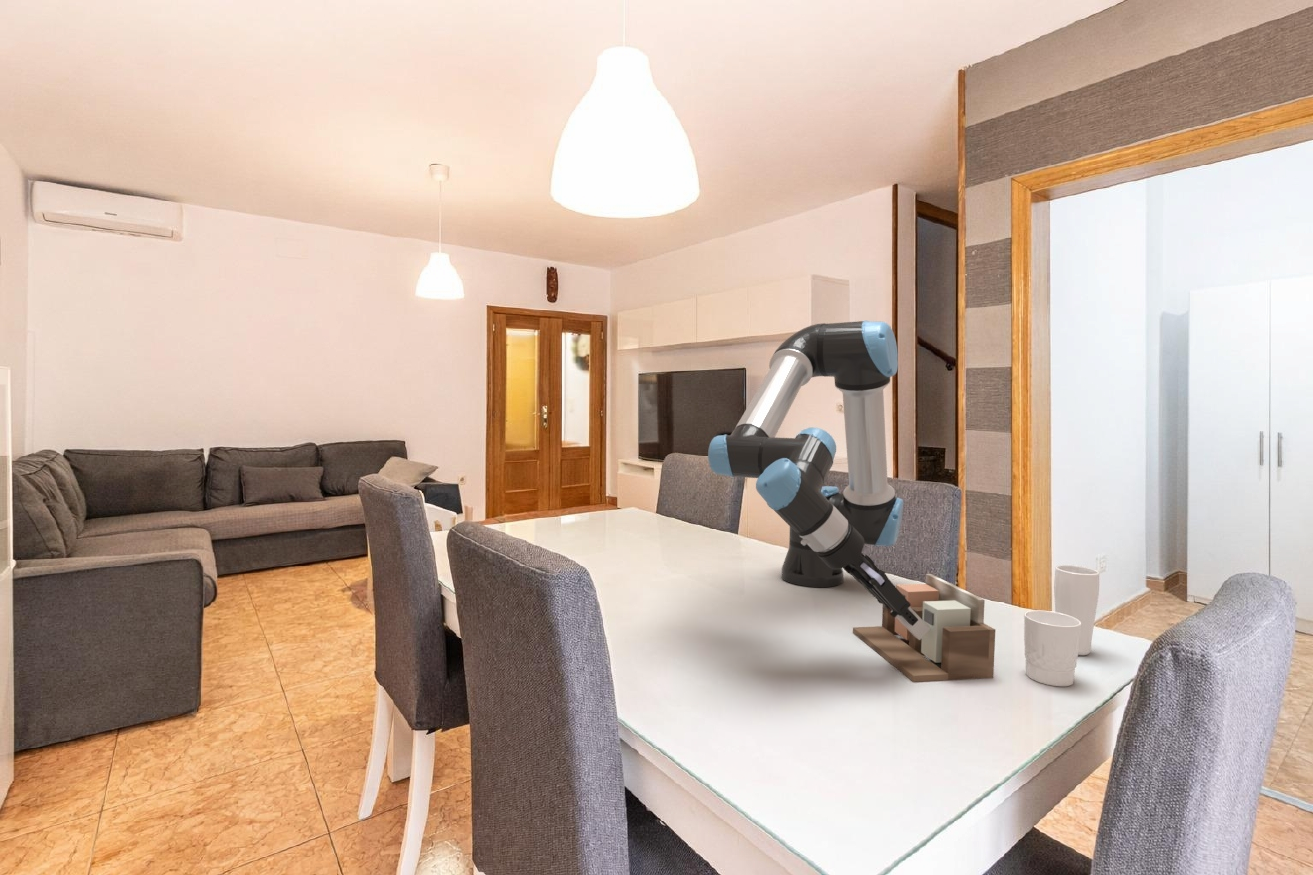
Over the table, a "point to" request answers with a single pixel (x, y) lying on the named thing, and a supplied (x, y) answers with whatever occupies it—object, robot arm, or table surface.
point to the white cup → (1051, 647)
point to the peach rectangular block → (914, 601)
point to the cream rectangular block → (941, 624)
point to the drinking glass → (1078, 599)
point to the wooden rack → (961, 646)
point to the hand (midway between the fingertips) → (922, 632)
